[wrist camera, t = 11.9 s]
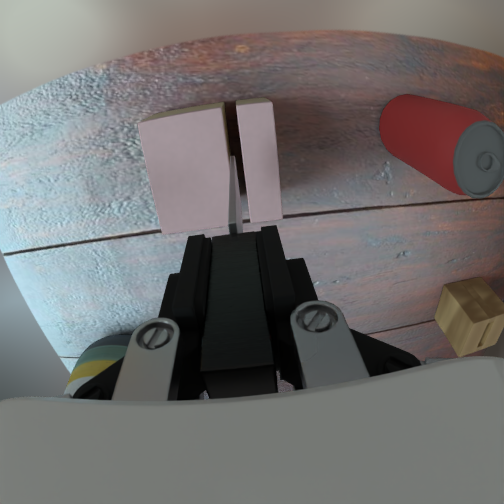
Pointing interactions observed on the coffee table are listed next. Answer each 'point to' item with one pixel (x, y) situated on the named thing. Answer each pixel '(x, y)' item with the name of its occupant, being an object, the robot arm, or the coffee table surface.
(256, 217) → the cake slice
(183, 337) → the robot arm
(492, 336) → the knife block
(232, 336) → the knife
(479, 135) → the beer can
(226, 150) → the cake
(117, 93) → the coffee table surface
